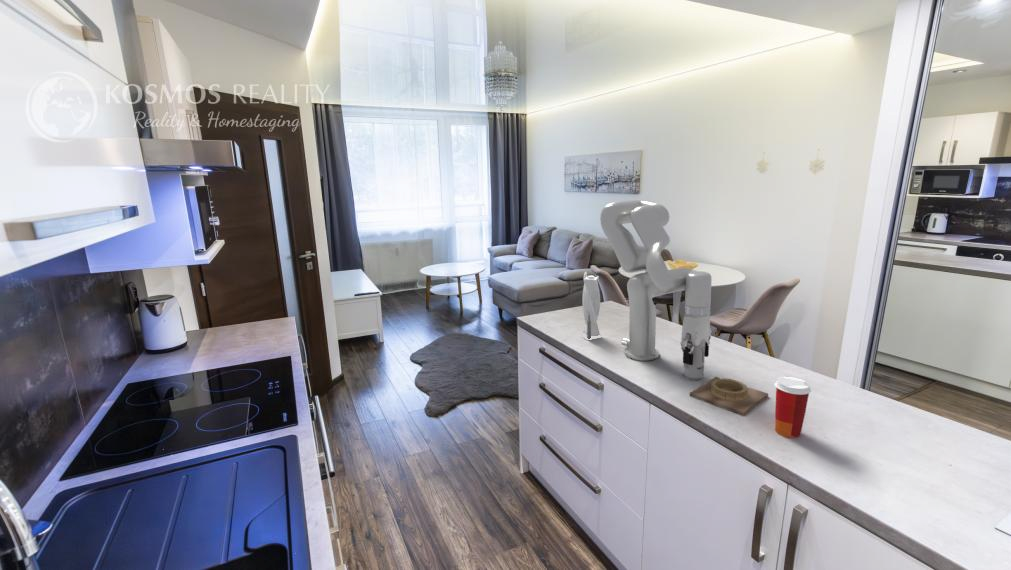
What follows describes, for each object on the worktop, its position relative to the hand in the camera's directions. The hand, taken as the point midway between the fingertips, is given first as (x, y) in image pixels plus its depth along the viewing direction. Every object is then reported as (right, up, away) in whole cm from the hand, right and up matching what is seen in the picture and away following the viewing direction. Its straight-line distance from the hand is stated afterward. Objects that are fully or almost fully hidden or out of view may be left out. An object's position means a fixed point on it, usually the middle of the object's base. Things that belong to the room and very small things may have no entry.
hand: (695, 359), depth 145 cm
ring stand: (+5, -9, -12) cm, 16 cm away
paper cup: (+10, -14, -31) cm, 36 cm away
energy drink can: (0, -6, +2) cm, 7 cm away
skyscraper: (-26, +3, +44) cm, 51 cm away
